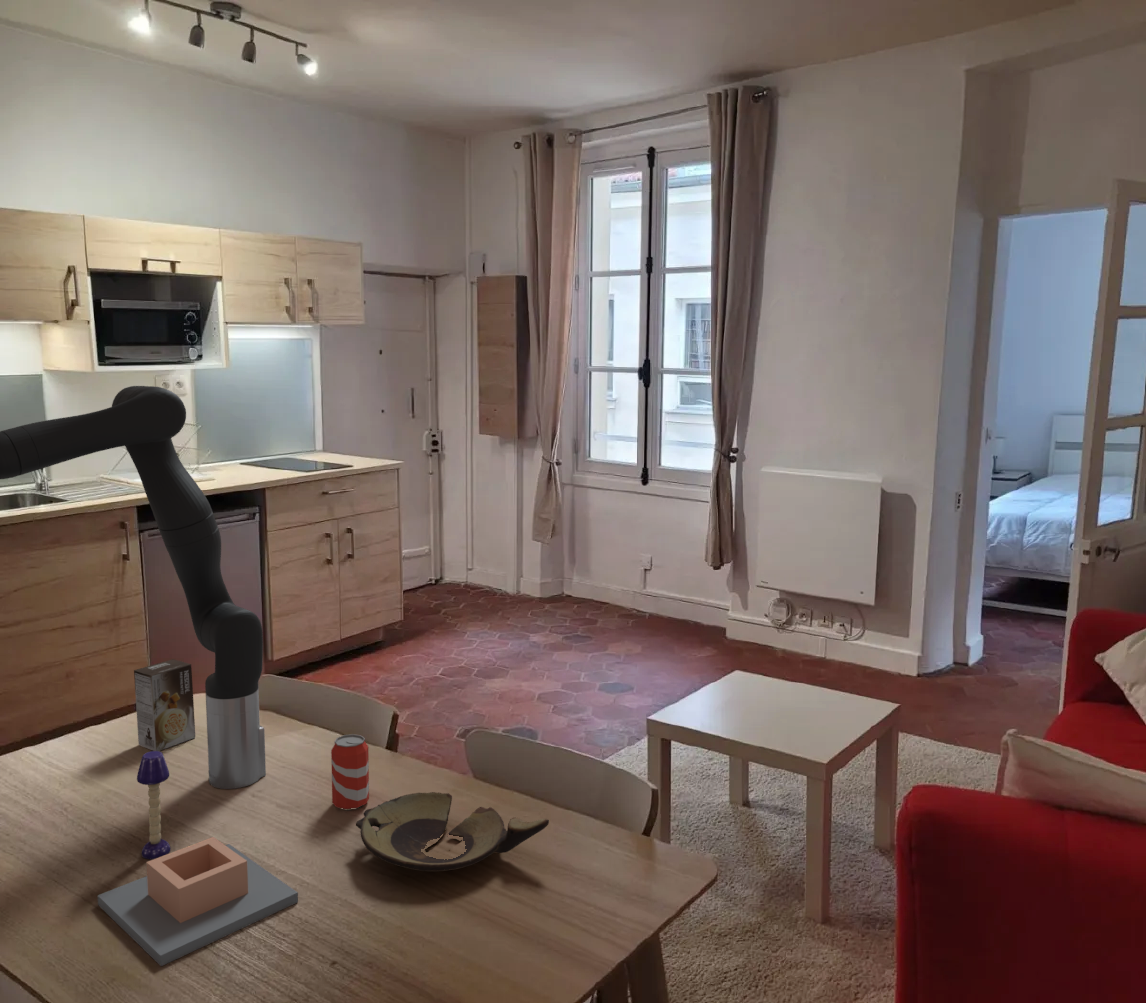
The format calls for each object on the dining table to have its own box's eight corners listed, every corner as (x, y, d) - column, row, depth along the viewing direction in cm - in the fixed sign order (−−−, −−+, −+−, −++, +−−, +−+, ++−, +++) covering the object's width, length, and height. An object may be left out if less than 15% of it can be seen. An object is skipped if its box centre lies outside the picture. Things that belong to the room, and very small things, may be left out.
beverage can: (357, 814, 161) (356, 749, 159) (325, 808, 163) (324, 743, 161) (375, 799, 166) (374, 736, 165) (344, 794, 168) (343, 731, 167)
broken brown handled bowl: (418, 806, 164) (417, 765, 163) (563, 852, 149) (563, 808, 148) (326, 863, 145) (325, 817, 144) (482, 922, 130) (482, 872, 129)
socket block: (229, 852, 147) (227, 814, 146) (298, 902, 134) (296, 860, 133) (98, 905, 133) (95, 862, 132) (161, 966, 119) (158, 920, 118)
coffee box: (177, 731, 195) (174, 658, 193) (196, 738, 192) (193, 663, 190) (137, 745, 188) (133, 669, 185) (155, 753, 184) (151, 675, 182)
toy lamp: (179, 849, 148) (174, 750, 146) (157, 863, 144) (152, 762, 141) (155, 843, 150) (150, 746, 147) (133, 858, 145) (128, 757, 143)
